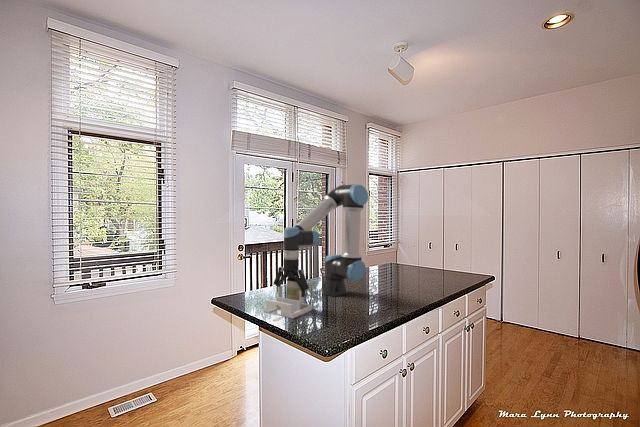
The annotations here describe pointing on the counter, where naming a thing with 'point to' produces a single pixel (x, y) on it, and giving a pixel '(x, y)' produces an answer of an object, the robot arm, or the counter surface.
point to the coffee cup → (292, 289)
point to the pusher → (295, 303)
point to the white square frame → (287, 308)
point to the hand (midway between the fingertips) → (290, 301)
